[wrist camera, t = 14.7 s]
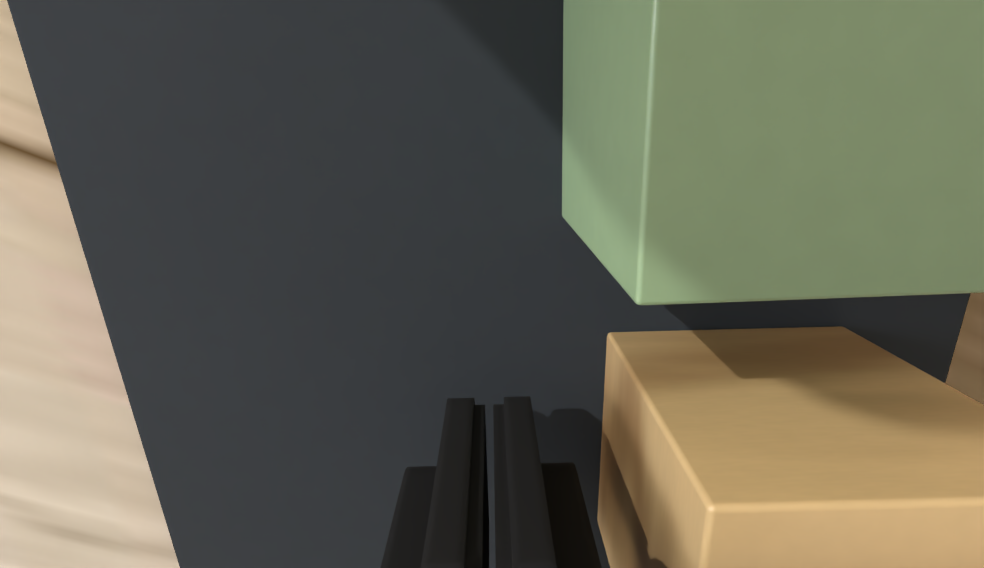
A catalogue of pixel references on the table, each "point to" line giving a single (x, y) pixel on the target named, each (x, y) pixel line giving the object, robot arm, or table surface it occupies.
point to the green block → (776, 146)
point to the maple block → (784, 454)
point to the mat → (348, 254)
